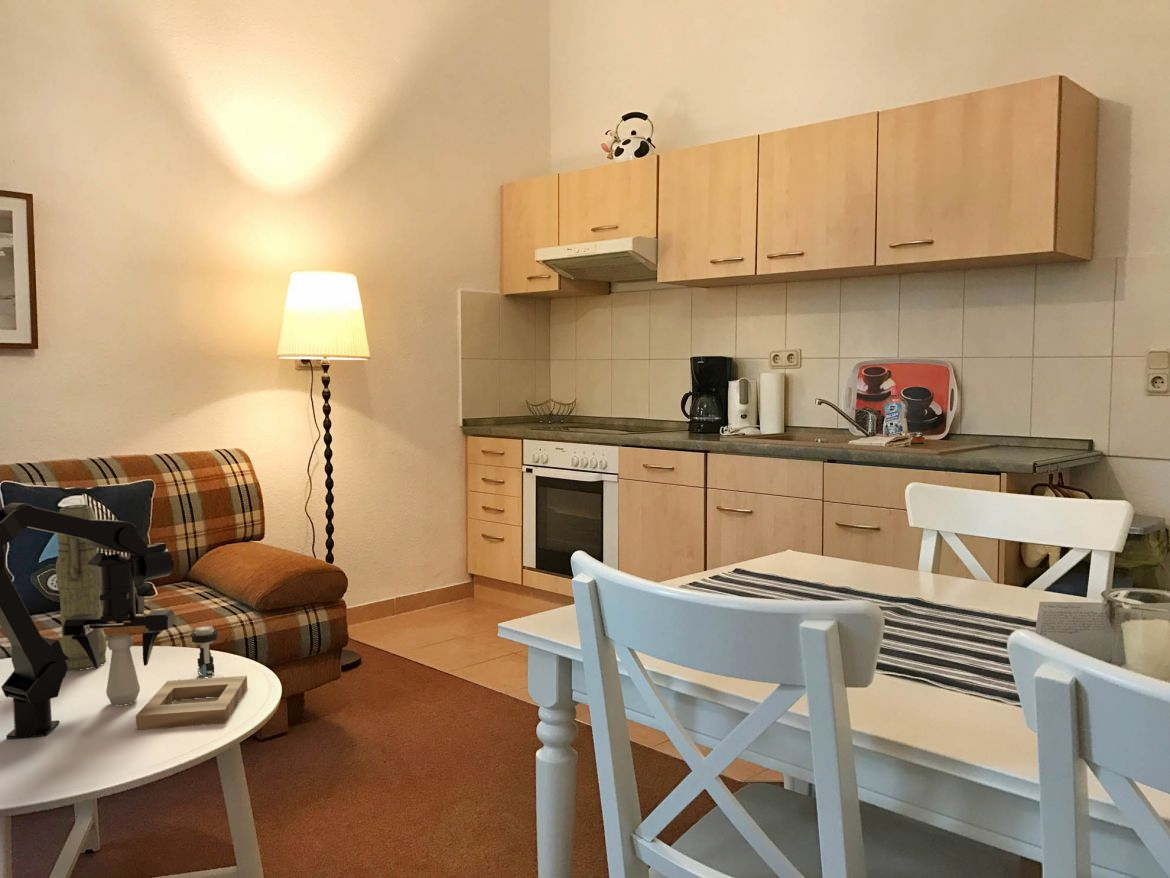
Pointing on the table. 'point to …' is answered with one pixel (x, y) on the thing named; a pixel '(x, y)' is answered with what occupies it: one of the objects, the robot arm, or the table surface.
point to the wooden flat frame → (188, 714)
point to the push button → (205, 649)
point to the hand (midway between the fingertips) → (121, 666)
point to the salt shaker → (122, 672)
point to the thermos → (78, 588)
